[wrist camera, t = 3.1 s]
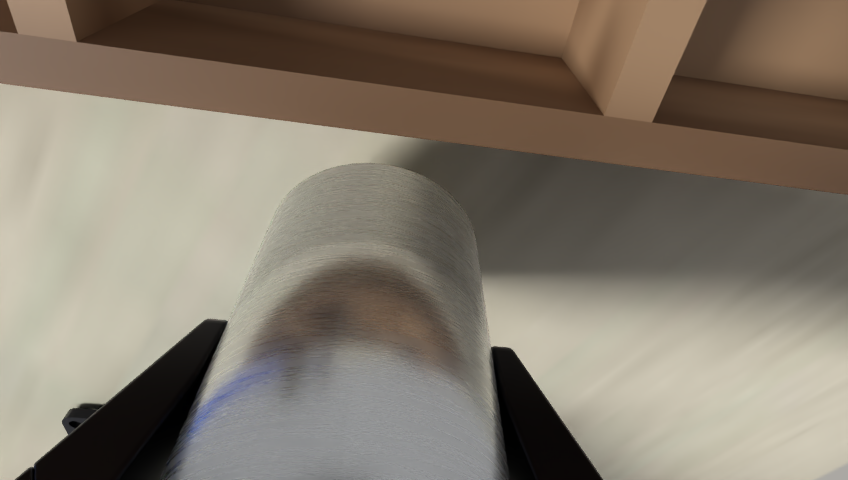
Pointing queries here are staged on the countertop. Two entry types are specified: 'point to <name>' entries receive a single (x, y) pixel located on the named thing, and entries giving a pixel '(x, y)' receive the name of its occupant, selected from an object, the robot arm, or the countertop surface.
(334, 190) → the spice tin
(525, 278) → the countertop surface
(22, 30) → the compartment tray
